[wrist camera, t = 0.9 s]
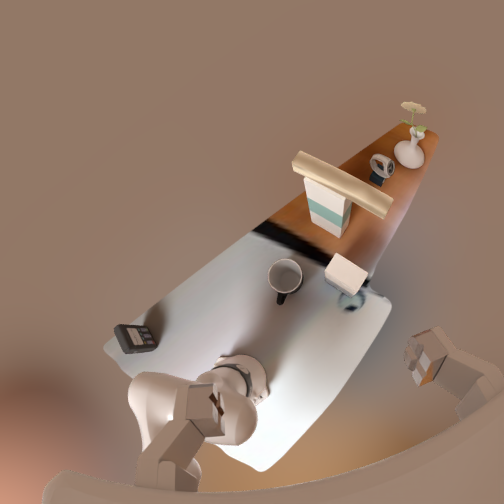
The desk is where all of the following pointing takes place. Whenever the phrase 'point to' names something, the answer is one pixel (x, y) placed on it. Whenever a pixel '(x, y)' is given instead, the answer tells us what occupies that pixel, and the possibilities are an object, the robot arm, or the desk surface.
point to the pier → (344, 275)
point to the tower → (328, 208)
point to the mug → (285, 278)
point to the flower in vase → (409, 150)
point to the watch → (381, 169)
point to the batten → (343, 184)
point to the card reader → (134, 339)
